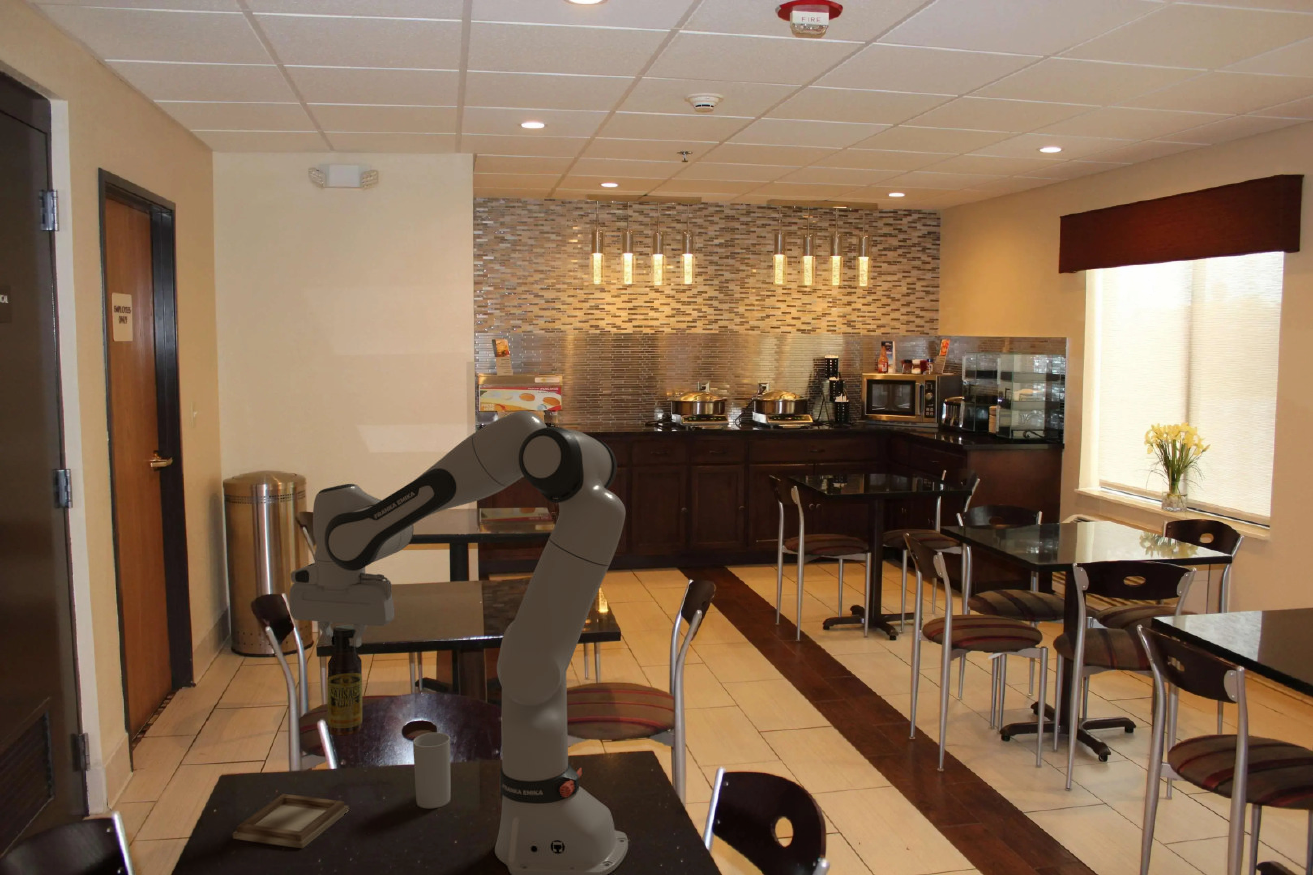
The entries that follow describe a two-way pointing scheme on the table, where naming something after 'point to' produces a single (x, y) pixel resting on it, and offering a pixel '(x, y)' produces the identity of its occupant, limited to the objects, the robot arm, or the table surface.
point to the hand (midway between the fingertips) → (343, 645)
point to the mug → (432, 769)
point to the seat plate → (291, 821)
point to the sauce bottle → (344, 685)
